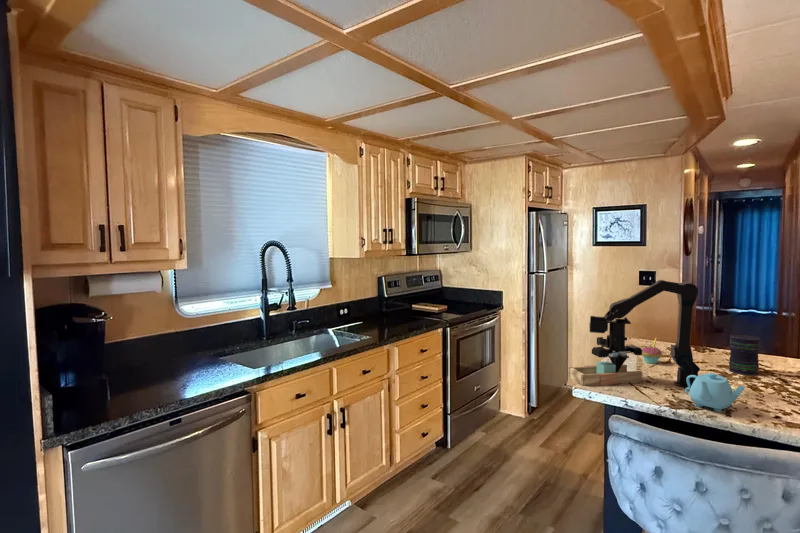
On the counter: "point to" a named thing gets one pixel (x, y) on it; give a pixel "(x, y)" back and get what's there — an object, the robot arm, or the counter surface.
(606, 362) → the block
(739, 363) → the storage jar
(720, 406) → the teapot
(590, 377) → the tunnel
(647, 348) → the cupcake
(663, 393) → the counter surface
